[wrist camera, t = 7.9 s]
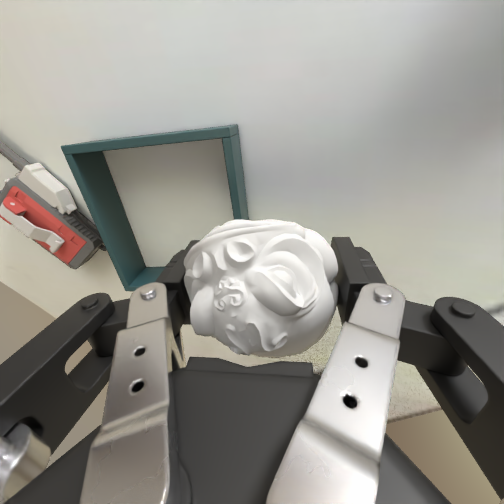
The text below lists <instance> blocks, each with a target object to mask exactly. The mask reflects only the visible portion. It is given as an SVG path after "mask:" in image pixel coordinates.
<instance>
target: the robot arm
mask: <svg viewBox="0 0 504 504" xmlns="http://www.w3.org/2000/svg"><path fill="white" fill-rule="evenodd" d="M200 241H201V240H192V241H191V242H190V243H189V245H188V246H187V248H186V249H185V250H181V251H180V252H178V253H177V254H176V255H174V256H173V258H172V259H171V260H170V263H168V265H167V266H166V268H165V269H164V270H163V271H162V273H161V274H160V275H159V277H158V278H157V279H156V281H155V282H153V283H148V284H145V285H143V286H141V287H139V288H137V289H136V290H135V291H134V292H133V293H132V294H131V296H130V299H125V300H120V301H115V302H112V300H111V298H110V296H109V295H108V294H106V293H96V294H92V295H89V296H87V297H85V298H83V299H81V300H80V301H78V302H77V303H76V304H74V305H73V306H72V307H71V308H70V309H68V310H67V311H66V312H65V313H63V314H62V315H61V316H60V317H58V318H57V319H56V320H55V321H54V322H52V323H51V324H50V325H49V326H47V327H46V328H45V329H44V330H43V331H41V332H40V333H39V334H38V335H36V336H35V337H34V338H33V339H31V340H30V341H29V342H28V343H27V344H25V345H24V346H23V347H22V348H20V349H19V350H18V351H17V352H16V353H14V354H13V355H12V356H11V357H9V358H8V359H7V360H6V361H4V362H3V363H2V364H1V365H0V504H451V503H450V502H449V501H448V500H447V499H446V497H445V496H444V495H443V494H442V493H441V492H440V491H439V490H438V489H437V488H436V487H435V486H434V485H433V484H432V482H431V481H430V480H429V479H428V478H427V477H426V476H425V475H424V474H423V473H422V472H421V470H420V469H419V468H418V467H417V466H416V465H415V464H414V463H413V462H412V461H411V460H410V459H409V458H408V456H407V455H406V454H405V453H404V452H403V451H402V450H401V449H400V448H399V447H398V446H397V445H396V444H395V443H394V442H393V440H392V439H391V438H390V437H389V436H388V435H387V434H386V433H385V429H386V423H387V418H388V412H389V406H390V400H391V394H392V388H393V382H394V376H395V371H396V365H397V360H399V361H402V362H405V363H408V364H412V365H415V367H416V369H417V370H418V372H419V373H420V375H421V376H422V378H423V379H424V381H425V383H426V384H427V386H428V387H429V389H430V390H431V392H432V393H433V395H434V397H435V398H436V400H437V401H438V403H439V404H440V406H441V407H442V409H443V411H444V412H445V414H446V415H447V417H448V418H449V420H450V421H451V423H452V424H453V426H454V427H455V429H456V431H457V432H458V434H459V435H460V437H461V439H462V440H463V442H464V443H465V445H466V446H467V448H468V449H469V451H470V453H471V454H472V456H473V457H474V459H475V460H476V462H477V463H478V465H479V467H480V468H481V470H482V471H483V472H484V474H485V476H486V477H487V479H488V480H489V482H490V483H491V485H492V487H493V488H494V490H495V491H496V493H497V495H498V496H499V498H500V499H501V501H500V503H499V504H504V326H503V325H501V324H500V323H499V322H498V321H497V320H496V319H494V318H493V317H492V316H491V315H490V314H489V313H487V312H486V311H485V310H484V309H482V308H481V307H480V306H478V305H476V304H474V303H472V302H470V301H467V300H464V299H460V298H455V297H443V298H440V299H438V300H437V301H436V302H435V304H434V307H432V306H427V305H423V304H418V303H414V302H410V301H407V300H405V296H404V295H403V293H402V292H401V291H399V290H398V289H396V288H395V287H393V286H390V285H387V283H386V281H385V280H384V278H383V276H382V274H381V273H380V271H379V269H378V267H376V264H375V262H374V261H373V258H372V257H371V255H370V253H369V252H368V251H366V250H365V249H363V248H362V247H354V246H353V244H352V241H351V239H350V237H333V238H332V241H331V248H332V249H333V251H334V253H335V256H336V259H337V264H338V273H337V276H336V277H335V278H334V280H335V282H336V283H337V285H338V290H339V294H338V302H337V307H338V311H339V314H340V318H341V322H342V329H341V331H340V334H339V336H338V338H337V341H336V343H335V345H334V348H333V350H332V352H331V355H330V357H329V359H328V362H327V364H326V367H325V369H324V371H323V374H322V376H320V375H318V374H314V373H313V365H312V363H307V362H286V361H279V362H274V363H268V364H263V365H258V366H252V367H245V366H242V365H239V364H235V363H232V362H229V361H226V360H223V359H219V358H206V357H190V358H189V360H188V363H187V365H186V362H185V354H184V347H183V339H182V333H181V330H180V329H181V327H182V325H183V324H191V320H190V308H191V302H190V299H189V296H188V293H187V290H186V287H185V282H184V276H185V274H186V268H185V266H184V259H185V257H186V255H187V254H188V252H189V251H190V249H191V248H192V247H193V246H194V245H195V244H196V243H198V242H200ZM191 325H192V324H191ZM86 340H88V342H89V343H90V345H91V346H92V348H93V349H92V350H91V351H90V352H89V353H88V354H87V355H86V356H85V357H84V358H83V359H82V360H81V361H80V363H79V364H78V365H77V366H76V367H75V368H74V369H73V370H72V371H71V372H70V373H69V374H68V375H67V374H66V373H65V364H66V362H67V360H68V359H69V357H70V356H71V355H72V354H73V353H74V352H75V351H76V350H77V349H78V348H79V347H80V346H81V345H82V344H83V343H84V342H85V341H86ZM468 366H469V367H470V368H471V369H472V370H473V372H474V373H475V374H476V375H477V376H478V377H479V379H480V380H481V381H482V382H483V384H484V385H483V384H482V382H481V381H480V380H479V379H478V378H477V377H476V375H475V374H474V373H473V372H472V371H471V369H470V368H469V367H468ZM108 381H109V384H108V390H107V396H106V401H105V407H104V413H103V419H102V424H101V425H100V426H98V427H97V428H96V429H95V430H94V431H92V432H91V433H90V434H89V435H87V436H86V437H85V438H84V439H82V440H81V441H80V442H79V443H78V444H76V445H75V446H74V447H73V448H71V449H70V450H69V451H68V452H66V453H65V454H64V455H63V456H61V457H60V458H59V459H58V460H56V461H55V462H54V463H53V464H52V465H50V466H49V467H48V468H47V469H46V467H47V465H48V463H49V459H50V456H51V455H52V454H53V453H54V451H55V450H56V449H57V447H58V446H59V445H60V444H61V442H62V441H63V440H64V438H65V437H66V436H67V434H68V433H69V432H70V431H71V429H72V428H73V427H74V425H75V424H76V422H77V421H78V420H79V419H80V418H81V416H82V415H83V413H84V412H85V411H86V410H87V408H88V407H89V406H90V405H91V403H92V402H93V401H94V399H95V398H96V397H97V395H98V394H99V393H100V392H101V390H102V389H103V388H104V386H105V385H106V384H107V382H108Z"/></svg>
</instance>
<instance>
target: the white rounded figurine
mask: <svg viewBox="0 0 504 504" xmlns="http://www.w3.org/2000/svg"><path fill="white" fill-rule="evenodd" d="M184 266H185V268H186V274H185V276H184V282H185V287H186V290H187V293H188V296H189V299H190V302H191V308H190V320H191V324H192V327H193V329H194V331H195V333H196V334H197V335H202V336H212V337H214V338H216V339H217V340H218V341H220V342H221V343H223V344H224V345H226V346H228V347H229V348H230V350H232V351H233V352H235V353H236V354H239V355H240V354H243V355H248V356H249V355H250V354H253V355H256V356H259V357H260V356H261V357H269V358H270V357H271V358H280V357H285V356H291V355H296V354H300V353H302V352H304V351H306V350H307V349H308V348H310V347H311V346H312V345H314V344H315V343H317V342H318V341H319V340H320V339H321V338H322V337H323V335H324V334H325V332H326V330H327V329H328V327H329V324H330V322H331V320H332V318H333V315H334V312H335V310H336V306H337V302H338V294H339V290H338V285H337V283H336V282H335V280H334V278H335V277H336V276H337V273H338V264H337V259H336V256H335V253H334V251H333V249H332V248H331V246H330V245H329V244H328V242H327V241H326V240H325V239H324V238H323V237H322V236H321V235H320V234H318V233H317V232H315V231H313V230H311V229H306V228H304V227H302V226H300V225H299V224H297V223H295V222H285V221H281V220H273V219H265V220H258V221H250V220H243V219H240V220H232V221H228V222H225V223H224V224H223V225H222V226H216V227H214V228H213V229H212V230H211V231H210V232H209V233H208V234H207V235H206V236H205V237H204V238H202V239H201V241H200V242H198V243H196V244H195V245H194V246H193V247H192V248H191V249H190V251H189V252H188V254H187V255H186V257H185V259H184Z"/></svg>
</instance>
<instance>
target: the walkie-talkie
mask: <svg viewBox="0 0 504 504" xmlns="http://www.w3.org/2000/svg"><path fill="white" fill-rule="evenodd" d="M0 153H1V154H2V155H4V156H5V157H6V158H7V159H8V160H10V161H11V162H12V163H13V165H14V166H15V167H16V168H17V169H18V170H20V171H21V172H19V173H17V174H16V175H15V176H16V177H15V178H8V179H6V180H5V181H4V183H5V186H4V188H3V190H1V191H0V217H1V218H2V219H3V220H5V221H6V222H8V223H9V224H12V225H13V227H14V228H16V229H17V230H18V231H20V232H21V233H22V234H24V235H25V236H26V237H28V238H31V239H33V240H34V241H35V242H37V243H38V244H39V245H41V246H42V247H43V248H45V249H46V250H47V251H48V252H50V253H51V254H53V255H54V256H56V257H57V258H58V259H59V260H61V261H62V262H63V263H65V264H66V265H67V266H69V267H70V268H73V269H77V268H79V267H80V266H81V265H83V264H84V263H85V262H87V261H88V260H89V259H90V258H91V257H92V256H93V255H94V253H95V252H96V251H97V250H98V249H99V248H100V249H101V250H103V251H106V250H107V249H106V247H105V246H104V245H103V243H104V242H103V240H102V238H101V236H100V233H99V231H98V229H97V227H96V226H95V225H93V224H92V223H91V222H90V221H89V220H88V219H86V218H85V217H84V216H83V215H81V214H80V213H79V212H78V211H77V207H76V204H75V202H74V200H73V198H72V196H71V194H70V191H69V190H68V189H67V188H66V187H65V186H64V185H63V184H62V183H61V182H59V181H58V180H57V179H56V178H55V177H53V176H52V175H51V174H50V173H49V172H48V171H46V170H45V168H44V167H43V166H42V165H41V164H40V163H35V164H30V163H28V162H27V161H26V160H25V159H24V158H21V157H20V156H18V155H17V154H16V153H15V152H14V151H12V150H11V149H10V148H9V147H8V146H6V145H5V144H4V143H3V142H2V141H0Z"/></svg>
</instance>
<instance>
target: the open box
mask: <svg viewBox="0 0 504 504" xmlns="http://www.w3.org/2000/svg"><path fill="white" fill-rule="evenodd" d="M218 138H222V142H223V149H224V156H225V162H226V169H227V176H228V182H229V189H230V196H231V202H232V209H233V216H234V220H240V219H243V220H249V217H248V209H247V200H246V192H245V183H244V175H243V167H242V158H241V150H240V141H239V134H238V125H230V126H221V127H212V128H203V129H195V130H186V131H177V132H168V133H160V134H151V135H142V136H133V137H125V138H116V139H107V140H98V141H90V142H84V143H78V144H71V145H65V146H61V149H62V151H63V153H64V155H65V158H66V160H67V162H68V165H69V167H70V169H71V171H72V173H73V176H74V178H75V180H76V182H77V185H78V187H79V189H80V191H81V193H82V196H83V198H84V200H85V202H86V204H87V207H88V209H89V211H90V213H91V216H92V218H93V220H94V222H95V224H96V227H97V229H98V231H99V233H100V236H101V238H102V240H103V242H104V244H105V247H106V249H107V251H108V253H109V256H110V258H111V260H112V262H113V264H114V267H115V269H116V271H117V273H118V276H119V278H120V280H121V282H122V284H123V286H124V289H125V291H135V290H136V289H137V288H139V287H141V286H143V285H145V284H148V283H153V282H155V281H156V279H157V278H158V277H159V275H160V274H161V273H162V271H163V270H164V269H165V268H166V267H146V268H145V264H144V261H143V259H142V256H141V254H140V251H139V248H138V246H137V243H136V240H135V238H134V235H133V232H132V230H131V227H130V224H129V222H128V219H127V216H126V214H125V211H124V208H123V206H122V203H121V200H120V198H119V195H118V192H117V190H116V187H115V185H114V182H113V179H112V177H111V174H110V171H109V169H108V166H107V163H106V161H105V158H104V155H103V153H102V151H106V150H116V149H125V148H134V147H144V146H153V145H162V144H172V143H181V142H190V141H200V140H209V139H218Z"/></svg>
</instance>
